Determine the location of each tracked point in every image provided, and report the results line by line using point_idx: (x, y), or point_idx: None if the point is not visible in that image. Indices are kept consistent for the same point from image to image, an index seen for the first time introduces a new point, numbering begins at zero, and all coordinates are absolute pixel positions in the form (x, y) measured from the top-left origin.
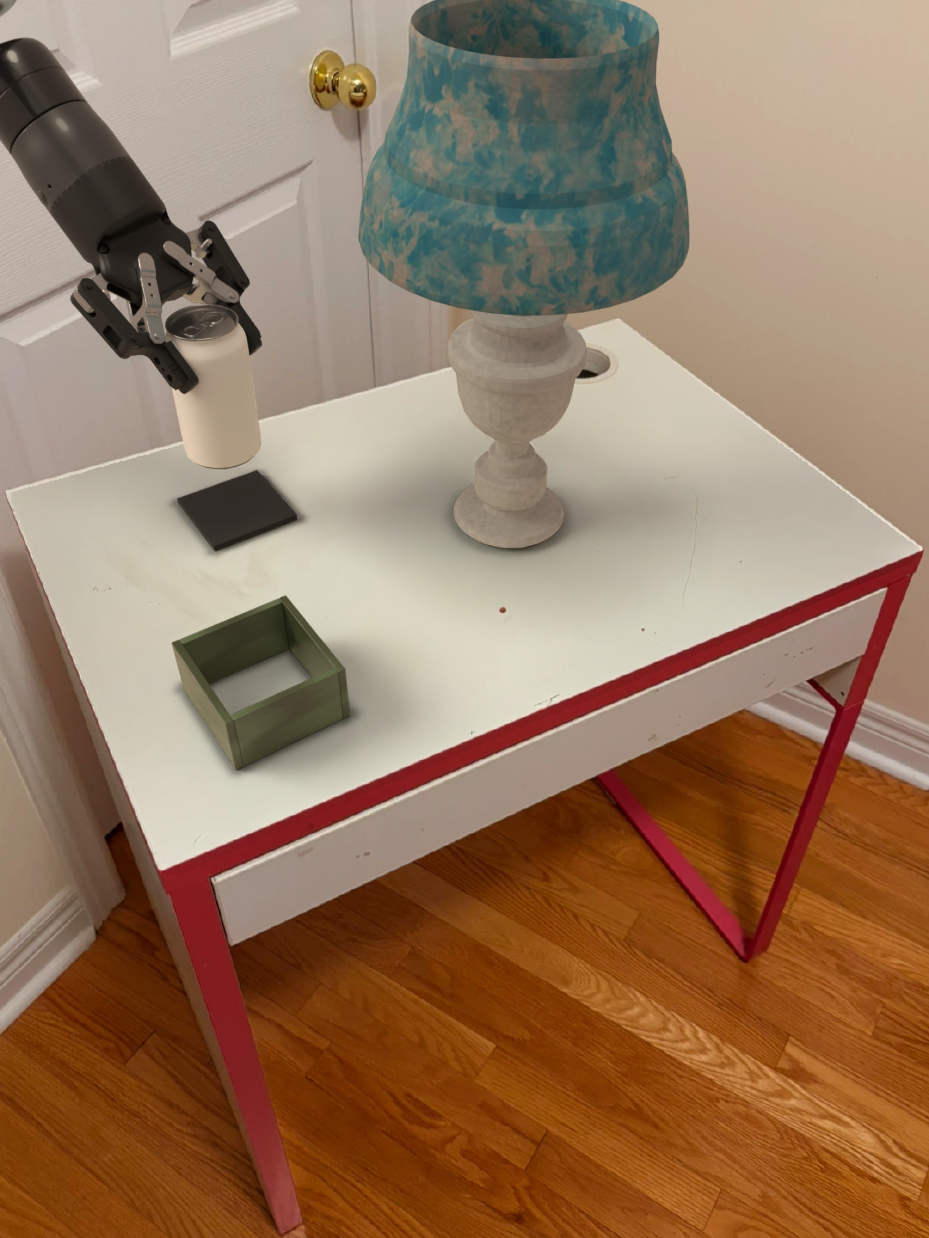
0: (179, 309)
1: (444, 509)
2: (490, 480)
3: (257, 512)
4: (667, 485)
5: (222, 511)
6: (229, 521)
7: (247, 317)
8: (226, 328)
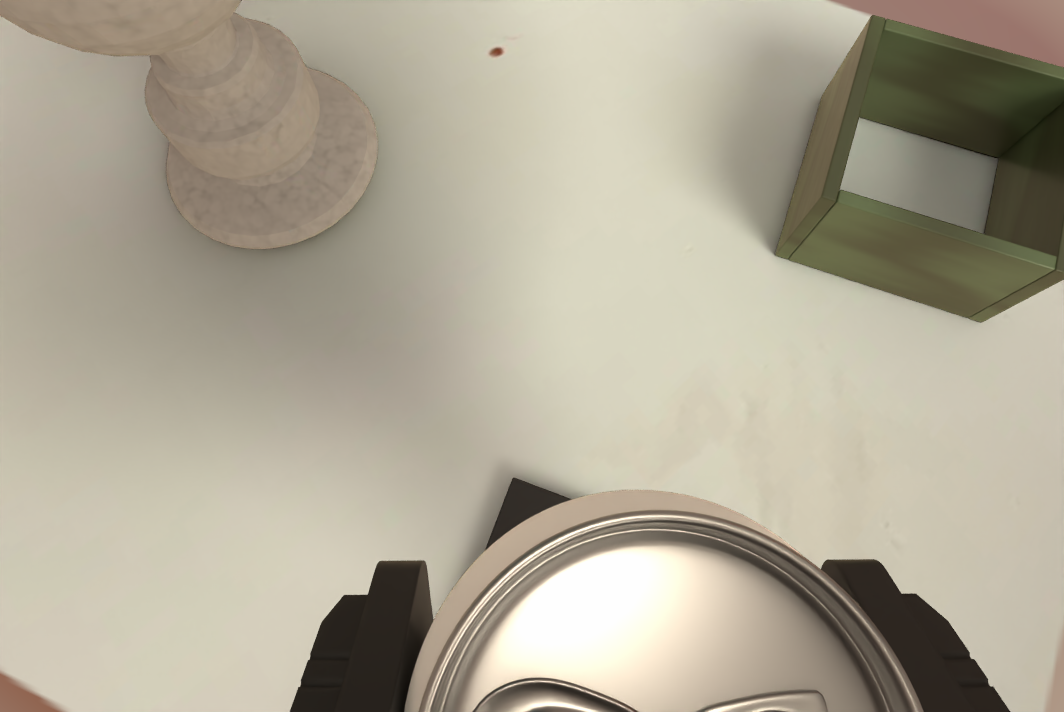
0: None
1: (318, 262)
2: (291, 82)
3: None
4: None
5: None
6: None
7: (306, 709)
8: (595, 593)
